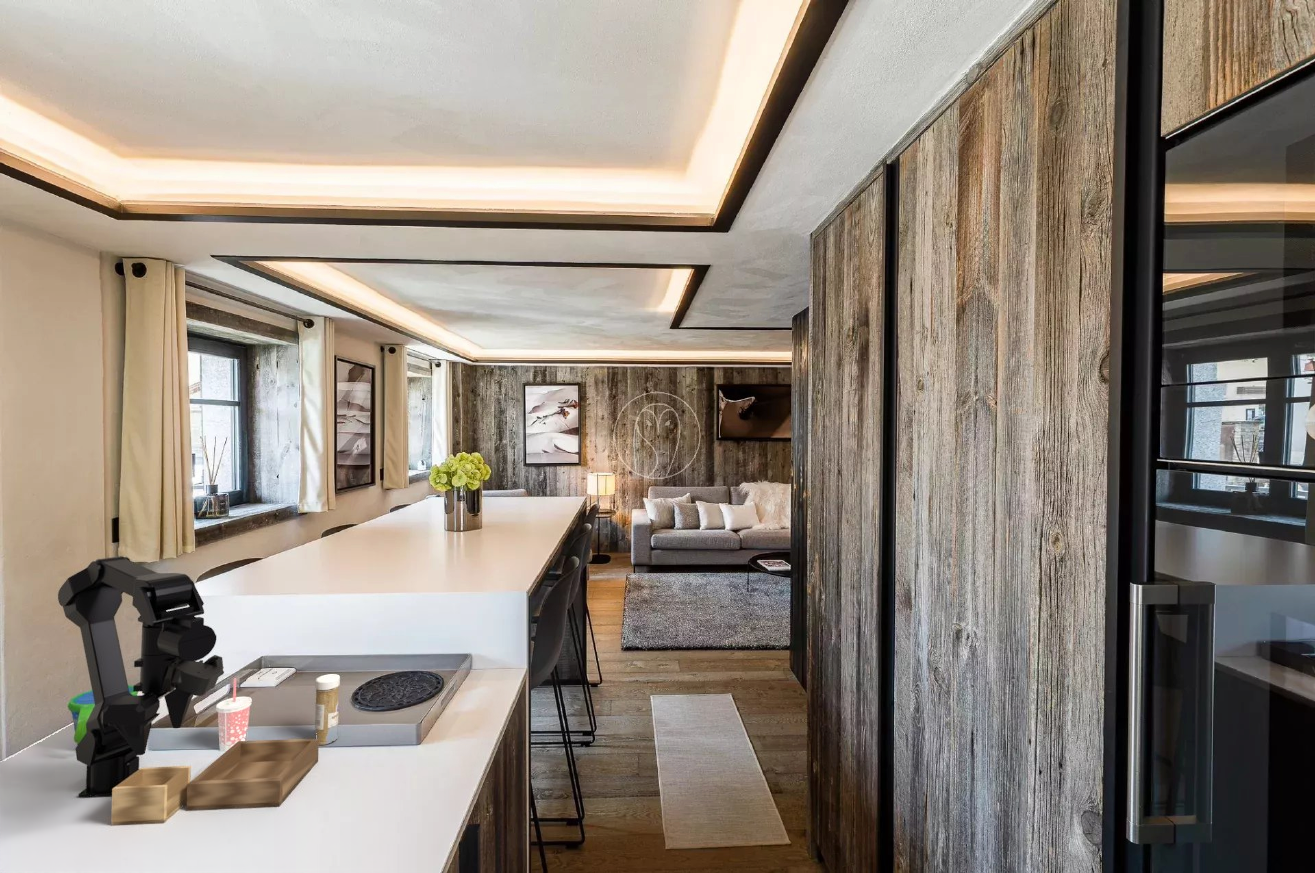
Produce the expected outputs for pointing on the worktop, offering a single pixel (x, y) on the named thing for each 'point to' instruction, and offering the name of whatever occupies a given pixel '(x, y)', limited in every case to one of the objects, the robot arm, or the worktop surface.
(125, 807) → the oak crate
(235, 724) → the beverage cup
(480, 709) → the worktop surface
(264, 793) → the walnut crate
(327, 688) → the spice jar
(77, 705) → the snack cup
